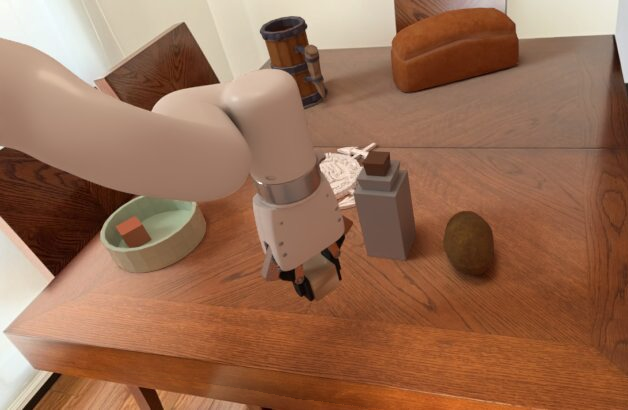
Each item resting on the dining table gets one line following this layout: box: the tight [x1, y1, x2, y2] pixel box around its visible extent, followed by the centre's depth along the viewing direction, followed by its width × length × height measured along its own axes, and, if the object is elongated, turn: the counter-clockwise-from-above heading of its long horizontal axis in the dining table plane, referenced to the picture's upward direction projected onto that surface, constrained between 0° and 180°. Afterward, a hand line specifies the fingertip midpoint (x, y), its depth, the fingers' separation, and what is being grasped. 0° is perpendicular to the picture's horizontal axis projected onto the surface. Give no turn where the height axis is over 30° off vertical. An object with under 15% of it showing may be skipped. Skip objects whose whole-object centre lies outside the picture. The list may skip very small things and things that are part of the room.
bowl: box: [99, 195, 208, 274], centre depth 95 cm, size 18×18×6 cm
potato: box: [442, 210, 495, 277], centre depth 79 cm, size 8×12×8 cm, turn 8°
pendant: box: [319, 142, 377, 211], centre depth 104 cm, size 21×28×1 cm
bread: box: [390, 7, 520, 93], centre depth 129 cm, size 14×33×16 cm, turn 104°
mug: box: [259, 15, 329, 110], centre depth 128 cm, size 19×14×20 cm
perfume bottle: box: [352, 150, 417, 261], centre depth 81 cm, size 7×7×18 cm
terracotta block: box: [115, 216, 151, 248], centre depth 95 cm, size 4×4×4 cm
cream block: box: [303, 252, 341, 303], centre depth 68 cm, size 4×4×4 cm
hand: (320, 284), depth 69 cm, fingers closed on cream block, 4 cm apart
